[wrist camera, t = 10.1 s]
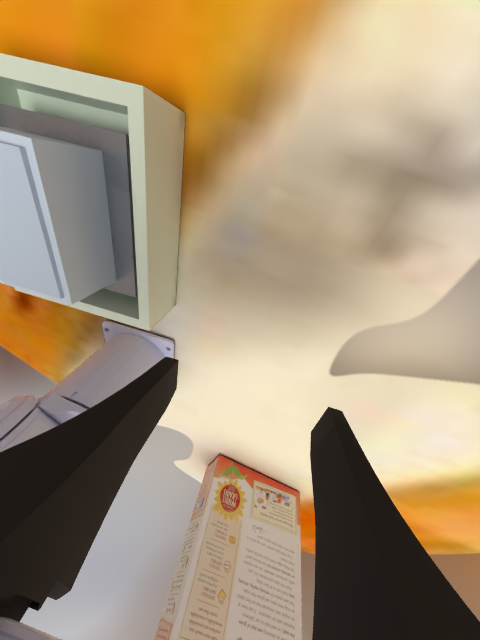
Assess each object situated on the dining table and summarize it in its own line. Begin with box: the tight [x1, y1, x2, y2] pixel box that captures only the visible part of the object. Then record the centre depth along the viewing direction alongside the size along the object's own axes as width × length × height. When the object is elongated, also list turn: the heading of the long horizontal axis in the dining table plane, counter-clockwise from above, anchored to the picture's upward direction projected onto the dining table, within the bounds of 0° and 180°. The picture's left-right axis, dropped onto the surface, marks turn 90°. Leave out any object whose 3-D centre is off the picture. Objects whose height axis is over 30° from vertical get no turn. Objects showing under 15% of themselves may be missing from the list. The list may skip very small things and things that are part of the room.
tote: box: [0, 53, 185, 331], centre depth 16 cm, size 14×12×4 cm
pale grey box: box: [0, 126, 116, 305], centre depth 13 cm, size 8×5×4 cm, turn 168°
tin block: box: [0, 103, 138, 298], centre depth 16 cm, size 10×8×2 cm
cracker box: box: [155, 455, 302, 640], centre depth 26 cm, size 14×6×21 cm, turn 64°
